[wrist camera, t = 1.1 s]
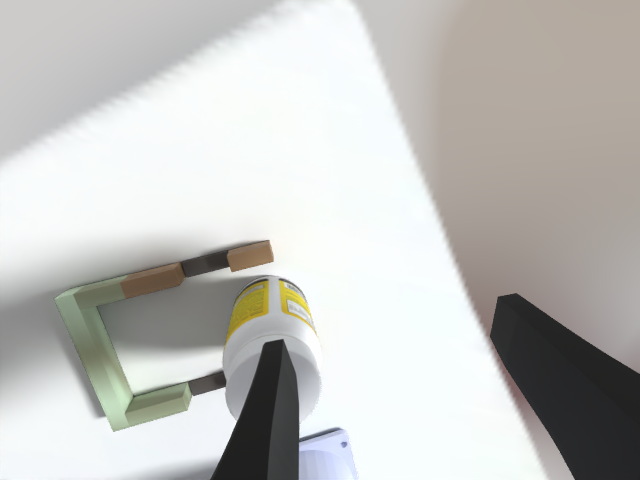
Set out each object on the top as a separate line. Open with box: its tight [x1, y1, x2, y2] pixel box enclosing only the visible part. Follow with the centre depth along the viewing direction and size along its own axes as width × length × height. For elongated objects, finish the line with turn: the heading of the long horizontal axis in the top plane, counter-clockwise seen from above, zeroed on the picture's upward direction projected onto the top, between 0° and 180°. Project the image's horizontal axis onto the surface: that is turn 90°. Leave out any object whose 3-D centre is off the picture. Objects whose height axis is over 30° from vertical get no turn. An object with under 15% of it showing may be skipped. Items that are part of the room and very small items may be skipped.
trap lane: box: [54, 240, 274, 432], centre depth 20 cm, size 9×12×2 cm
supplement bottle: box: [223, 276, 321, 424], centre depth 18 cm, size 5×5×8 cm
